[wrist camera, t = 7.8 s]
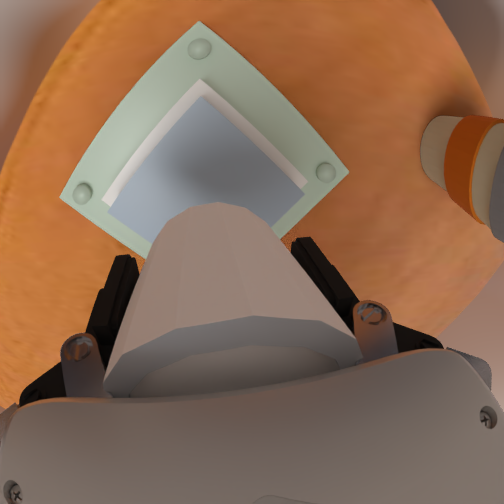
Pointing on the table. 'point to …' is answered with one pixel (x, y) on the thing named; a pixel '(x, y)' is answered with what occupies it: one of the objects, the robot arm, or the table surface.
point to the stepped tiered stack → (201, 147)
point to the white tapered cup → (223, 312)
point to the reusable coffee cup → (468, 165)
